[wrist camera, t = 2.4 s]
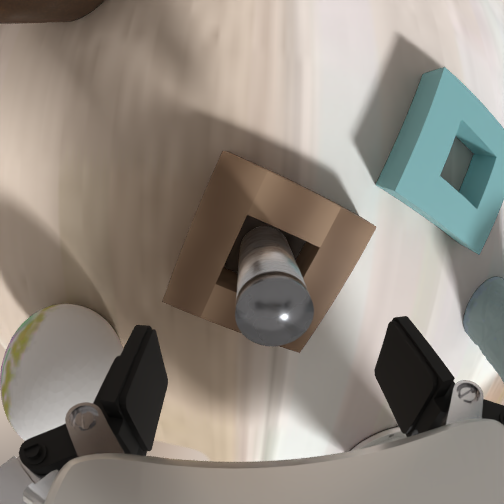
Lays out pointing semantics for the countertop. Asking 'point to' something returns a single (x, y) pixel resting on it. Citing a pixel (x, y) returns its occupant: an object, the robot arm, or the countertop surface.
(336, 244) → the mount block
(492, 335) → the grey-blue cup
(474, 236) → the socket block
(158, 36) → the countertop surface
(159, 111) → the countertop surface
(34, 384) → the decorative egg
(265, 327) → the pin
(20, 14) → the plant pot
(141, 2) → the countertop surface
